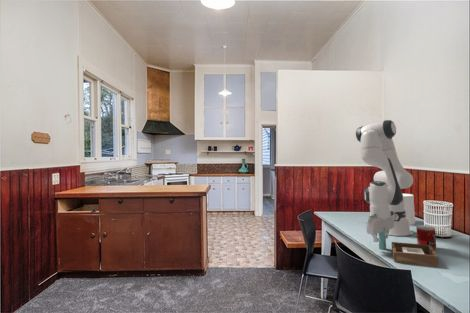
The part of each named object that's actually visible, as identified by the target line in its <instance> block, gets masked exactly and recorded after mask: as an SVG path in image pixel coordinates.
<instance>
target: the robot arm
mask: <svg viewBox="0 0 470 313" xmlns="http://www.w3.org/2000/svg"><path fill="white" fill-rule="evenodd" d="M396 134H397V127H396V124H395V123H394V121H393V120H391V119H386V120H382V121H376V122H373V123H368V124H366V125H362V126H359V127H357V129H356V131H355V137H356V140H357V141H358V142H359V144H360V145H359V146H360V149H359V150H360V157H361V160H362V161H363V162H364V163H365V164H368V165H369V166H372V167H375V168H379V169H381V170H379V171H377V172H375V174H374V175H373V181H371V182H370V183H369V186H368V187H366V188H365V189H364V190H363V193H364V199H363V200H364V201H365V202H366V203H368V204H369V214H370V215H369V217H368V218H367V219H366V233H367V234H369V235H371V236H372V239H373V242H375V243H379V237H378V233H380V232H383V231H384V229H383V227H385V235H386V240H388V238H389V236H395V237H407V236H412V235H414V234H415V233H414V232H413V231H412V230H411V228H410V226H411V225H409V220H408V219H406V212H405V209H404V198H403V194H404V193H403V192H402V189H403V190H404V189H409V188H410V187H412V185H413V183H414V177H413V175H412V173H410V172H408V171H407V170H406V169H405V168H404V167H403V165H402V164H401V162H400V160H399V158H398V153H397V150H396V146H395V142H394V140H393V138H394V137H395V135H396Z"/></svg>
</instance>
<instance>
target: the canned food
mask: <svg viewBox="0 0 470 313" xmlns="http://www.w3.org/2000/svg"><path fill="white" fill-rule="evenodd" d="M436 237H437V234H436V227H434V226H431V225H425V224H424V225H422V224H421V225H416V239H417V240H416V241H417V243H416V244H423V245H431V247H432V248H433V250H434V251H437V238H436Z"/></svg>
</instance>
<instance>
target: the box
mask: <svg viewBox="0 0 470 313" xmlns="http://www.w3.org/2000/svg"><path fill="white" fill-rule="evenodd" d="M402 247H408V248H419V249H422V250H423V252H424V254H416V253H406V252H402ZM391 253H392V259H393V261H394V263H399V264H408V265H409V264H410V265H418V266H425V267H427V266H428V267H435V268H439V256H438V254H437V253H436V250H433V248H432V247H431V245H423V244H417V243H409V242H408V243H407V242H397V241H391Z"/></svg>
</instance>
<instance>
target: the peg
mask: <svg viewBox="0 0 470 313" xmlns="http://www.w3.org/2000/svg"><path fill="white" fill-rule="evenodd" d="M383 229H384V231H383V232H380V233H377V237H378V239H379V241H378V247H379V248H378V249H379V250H382V251H383V250H384V251H385V250H387V239H386V235H385V227H383Z"/></svg>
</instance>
